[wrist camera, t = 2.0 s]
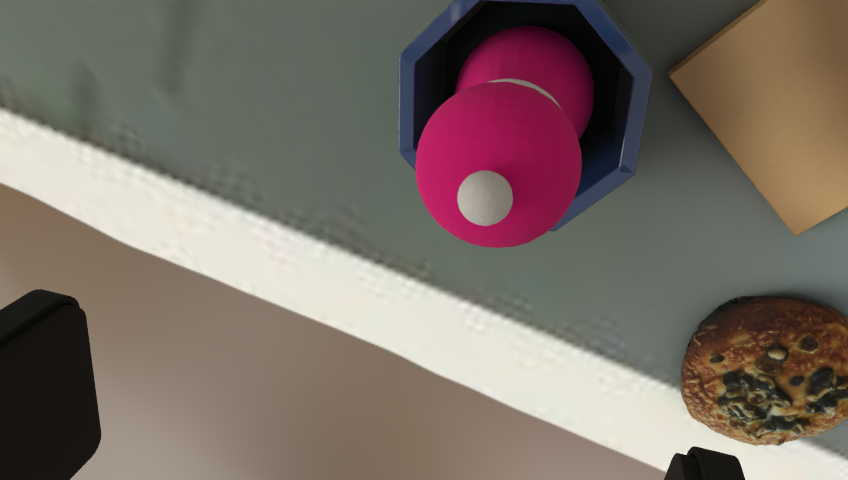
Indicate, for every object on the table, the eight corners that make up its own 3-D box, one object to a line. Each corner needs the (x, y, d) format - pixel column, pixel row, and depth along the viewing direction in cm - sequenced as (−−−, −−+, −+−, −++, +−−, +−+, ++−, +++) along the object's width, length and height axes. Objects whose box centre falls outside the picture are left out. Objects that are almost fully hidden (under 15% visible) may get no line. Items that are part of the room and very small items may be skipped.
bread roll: (759, 257, 38) (790, 307, 34) (898, 339, 40) (943, 397, 36) (638, 371, 44) (651, 426, 40) (765, 439, 46) (790, 499, 41)
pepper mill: (606, 26, 35) (629, 111, 17) (578, 151, 38) (575, 330, 21) (477, 9, 36) (376, 72, 19) (460, 131, 39) (361, 286, 22)
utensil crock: (544, -75, 34) (534, -79, 27) (676, 92, 36) (699, 129, 29) (393, 72, 39) (351, 101, 32) (516, 211, 41) (503, 268, 34)
